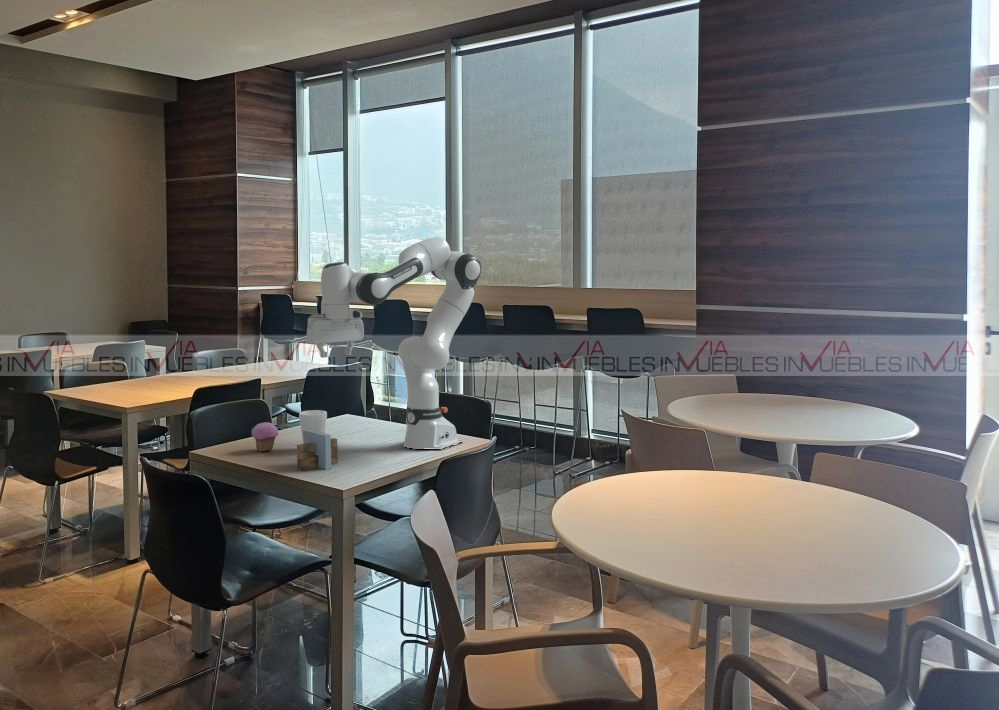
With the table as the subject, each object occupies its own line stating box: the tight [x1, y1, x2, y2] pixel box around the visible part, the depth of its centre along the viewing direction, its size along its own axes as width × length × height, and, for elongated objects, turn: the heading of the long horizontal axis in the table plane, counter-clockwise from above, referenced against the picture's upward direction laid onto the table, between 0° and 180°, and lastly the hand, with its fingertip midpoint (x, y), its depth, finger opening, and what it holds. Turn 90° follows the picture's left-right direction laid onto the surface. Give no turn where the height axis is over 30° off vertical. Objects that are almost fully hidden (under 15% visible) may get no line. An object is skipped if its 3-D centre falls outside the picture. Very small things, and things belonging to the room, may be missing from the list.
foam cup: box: [298, 409, 328, 439], centre depth 274 cm, size 10×9×13 cm
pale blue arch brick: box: [302, 429, 332, 471], centre depth 251 cm, size 12×2×11 cm, turn 48°
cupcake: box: [251, 421, 279, 452], centre depth 271 cm, size 9×9×10 cm
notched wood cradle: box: [296, 437, 339, 472], centre depth 251 cm, size 14×2×8 cm, turn 138°
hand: (336, 356), depth 252 cm, fingers open, 8 cm apart
